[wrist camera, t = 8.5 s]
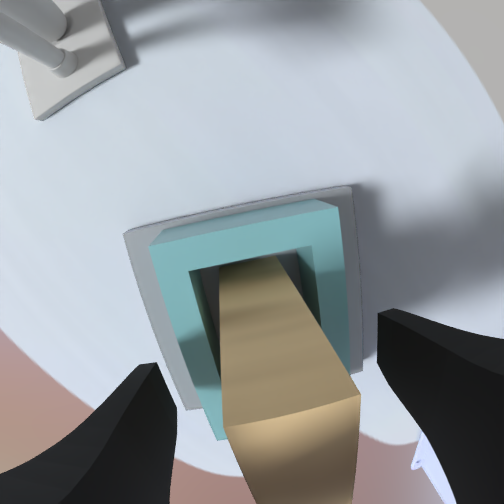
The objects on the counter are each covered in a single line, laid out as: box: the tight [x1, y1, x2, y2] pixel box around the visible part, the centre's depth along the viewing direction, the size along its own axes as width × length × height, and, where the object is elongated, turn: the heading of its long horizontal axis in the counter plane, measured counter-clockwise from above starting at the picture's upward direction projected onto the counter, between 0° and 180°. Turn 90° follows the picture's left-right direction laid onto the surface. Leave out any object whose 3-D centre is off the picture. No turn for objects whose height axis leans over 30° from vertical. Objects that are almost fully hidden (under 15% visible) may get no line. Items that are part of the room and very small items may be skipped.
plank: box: [219, 255, 361, 504], centre depth 9 cm, size 5×2×8 cm, turn 11°
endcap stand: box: [123, 186, 363, 441], centre depth 12 cm, size 9×9×3 cm
